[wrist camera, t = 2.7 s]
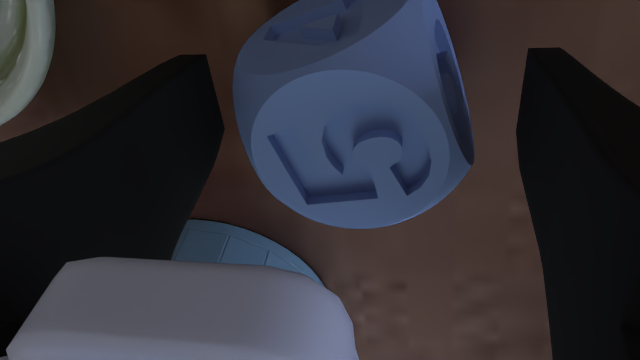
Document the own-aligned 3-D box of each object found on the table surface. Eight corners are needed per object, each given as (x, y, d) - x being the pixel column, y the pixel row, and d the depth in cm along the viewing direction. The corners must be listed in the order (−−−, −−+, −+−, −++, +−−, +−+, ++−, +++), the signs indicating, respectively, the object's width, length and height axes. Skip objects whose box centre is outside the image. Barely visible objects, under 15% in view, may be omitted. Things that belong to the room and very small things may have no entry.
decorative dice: (259, 11, 13) (207, 101, 10) (422, -52, 12) (416, 31, 9) (326, 140, 15) (299, 246, 12) (471, 101, 14) (480, 211, 11)
